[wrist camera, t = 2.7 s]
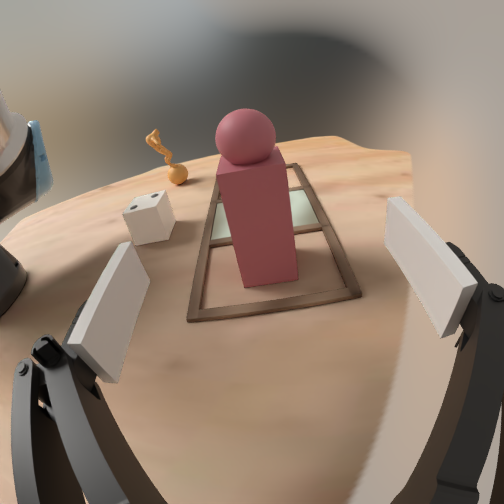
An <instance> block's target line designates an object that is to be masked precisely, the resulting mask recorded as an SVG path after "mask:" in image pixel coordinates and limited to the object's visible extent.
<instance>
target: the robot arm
mask: <svg viewBox="0 0 504 504" xmlns="http://www.w3.org/2000/svg"><path fill="white" fill-rule="evenodd" d="M52 186H53V178H52V174H51V170H50V166H49V163H48V159H47V155H46V151H45V146H44V143H43V138H42V133H41V129H40V124H39V122H38V121H37V120H34V121H30V122H28V124H27V122H26V120H25V118H24V117H23V116H22V115H21V114H19V113H15V112H10V111H9V109H8V107H7V105H6V102H5V100H4V97H3V95H2V93H1V90H0V224H1V223H2V222H4V221H5V220H7V219H9V218H10V217H12V216H13V215H15V214H16V213H18V212H19V211H21V210H22V209H24V208H26V207H27V206H29V205H30V204H32V203H34V202H37V201H38V199H39V198H40V197H42V196H44V195H45V194H46V193H48V192H49V191H50V190H51V189H52ZM384 245H385V246H386V248H387V249H388V251H389V252H390V254H391V255H392V257H393V258H394V260H395V261H396V263H397V264H398V266H399V267H400V269H401V271H402V272H403V274H404V275H405V277H406V279H407V280H408V282H409V283H410V285H411V287H412V288H413V290H414V292H415V293H416V295H417V297H418V299H419V300H420V302H421V304H422V305H423V307H424V309H425V311H426V313H427V314H428V316H429V318H430V320H431V322H432V324H433V325H434V327H435V329H436V331H437V333H438V335H439V337H440V338H443V337H446V336H449V335H452V334H454V333H455V332H456V330H457V328H458V326H459V324H460V325H461V327H462V328H463V332H462V333H461V336H460V337H459V339H458V341H457V343H456V345H455V347H457V346H458V344H459V347H458V351H457V355H456V359H455V363H454V367H453V371H452V374H451V378H450V381H449V385H448V388H447V391H446V394H445V397H444V400H443V403H442V406H441V409H440V412H439V414H438V417H437V420H436V422H435V425H434V427H433V430H432V432H431V435H430V437H429V439H428V442H427V444H426V446H425V449H424V451H423V453H422V455H421V457H420V459H419V461H418V463H417V465H416V467H415V469H414V471H413V473H412V475H411V476H410V478H409V480H408V482H407V484H406V485H405V487H404V488H403V490H402V491H401V492H400V493H399V494H398V495H397V496H396V497H395V498H394V500H393V501H392V502H391V504H477V503H478V500H479V492H478V490H477V483H478V480H479V477H480V474H481V472H482V469H483V467H484V464H485V461H486V458H487V455H488V452H489V449H490V446H491V442H492V439H493V436H494V432H495V428H496V424H497V420H498V416H499V411H500V407H501V402H502V417H501V434H500V446H499V455H498V462H497V469H496V475H495V480H494V485H493V490H492V495H491V499H490V504H504V289H503V288H502V287H501V286H499V285H497V284H492V283H491V284H488V282H487V281H486V280H485V279H484V277H483V276H482V275H481V274H480V272H479V271H478V270H477V269H476V267H475V266H474V265H473V264H472V263H470V260H469V259H468V258H467V257H465V255H464V253H463V252H462V251H461V250H460V249H459V248H458V247H457V246H455V245H454V244H452V243H451V242H447V243H445V242H444V241H443V240H442V239H441V238H440V237H439V235H438V234H437V233H436V232H435V231H434V230H433V229H432V228H431V227H430V226H429V225H428V224H427V223H426V221H425V220H424V219H423V218H422V217H421V216H420V215H419V214H418V213H417V212H416V211H415V210H414V209H413V208H412V207H411V206H410V205H409V204H408V203H407V202H406V201H405V200H404V199H402V198H401V197H392V198H387V215H386V227H385V238H384ZM26 278H27V273H26V271H25V270H24V268H23V266H22V265H21V263H20V262H19V261H18V260H17V259H16V258H15V257H13V256H12V255H11V254H10V253H9V252H8V251H7V250H6V249H5V248H4V247H3V246H2V245H1V244H0V316H1V315H2V314H3V313H4V312H5V311H6V310H7V309H8V308H9V307H10V305H11V304H12V303H13V302H14V300H15V299H16V298H17V296H18V295H19V293H20V292H21V290H22V288H23V286H24V284H25V281H26ZM149 284H150V279H149V277H148V275H147V273H146V271H145V269H144V267H143V265H142V263H141V261H140V259H139V257H138V254H137V252H136V250H135V248H134V246H133V244H132V241H130V242H125V243H120V244H119V245H118V247H117V249H116V250H115V252H114V254H113V255H112V257H111V259H110V260H109V262H108V264H107V266H106V267H105V269H104V271H103V273H102V274H101V276H100V278H99V280H98V282H97V283H96V285H95V287H94V289H93V291H92V293H91V295H90V297H89V299H88V300H86V301H85V302H84V303H83V304H82V306H81V307H80V308H79V310H78V312H77V314H76V316H75V317H76V318H74V320H73V322H72V325H71V326H70V328H69V330H68V332H67V334H66V337H65V339H64V341H63V343H62V345H61V346H60V345H59V344H58V342H57V341H56V340H55V339H54V338H53V337H52V336H51V335H49V334H48V335H44V336H42V337H40V338H39V339H38V340H37V341H36V342H35V344H34V345H33V347H32V350H31V355H32V356H33V357H34V358H35V359H36V360H37V361H38V362H39V364H35V363H34V362H33V361H32V360H31V359H29V358H25V359H23V360H22V361H20V362H19V363H18V365H17V367H16V369H15V373H14V382H13V392H12V408H11V449H12V464H13V475H14V483H15V490H16V496H17V502H18V504H86V503H85V499H84V496H83V493H84V495H85V497H86V499H87V501H88V503H89V504H168V503H167V502H166V501H165V500H164V498H163V497H162V496H161V494H160V493H159V491H158V490H157V489H156V487H155V486H154V484H153V483H152V482H151V480H150V479H149V477H148V476H147V474H146V473H145V471H144V470H143V468H142V466H141V465H140V463H139V462H138V460H137V458H136V457H135V455H134V454H133V452H132V450H131V448H130V447H129V445H128V443H127V442H126V440H125V438H124V436H123V434H122V432H121V431H120V429H119V427H118V425H117V423H116V421H115V419H114V417H113V415H112V413H111V411H110V409H109V407H108V405H107V403H106V401H105V398H104V396H103V394H102V392H101V389H100V387H99V385H98V384H97V383H96V382H95V379H96V376H98V377H99V378H100V379H101V380H102V381H103V382H106V383H118V381H119V377H120V374H121V370H122V367H123V363H124V360H125V356H126V353H127V350H128V346H129V343H130V340H131V337H132V333H133V330H134V327H135V324H136V321H137V318H138V315H139V312H140V309H141V306H142V304H143V301H144V298H145V295H146V292H147V289H148V287H149ZM38 399H39V400H40V401H41V402H43V408H42V407H41V406H39V405H38ZM82 491H83V492H82Z"/></svg>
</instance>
